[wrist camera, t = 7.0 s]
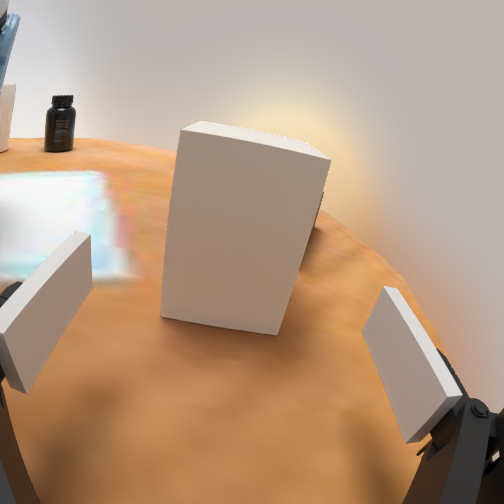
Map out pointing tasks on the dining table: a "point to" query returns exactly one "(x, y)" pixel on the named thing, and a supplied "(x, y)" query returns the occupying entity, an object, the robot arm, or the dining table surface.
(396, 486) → the dining table surface
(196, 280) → the upright white rectangular block
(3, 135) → the drinking glass
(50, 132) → the supplement bottle
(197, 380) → the dining table surface
